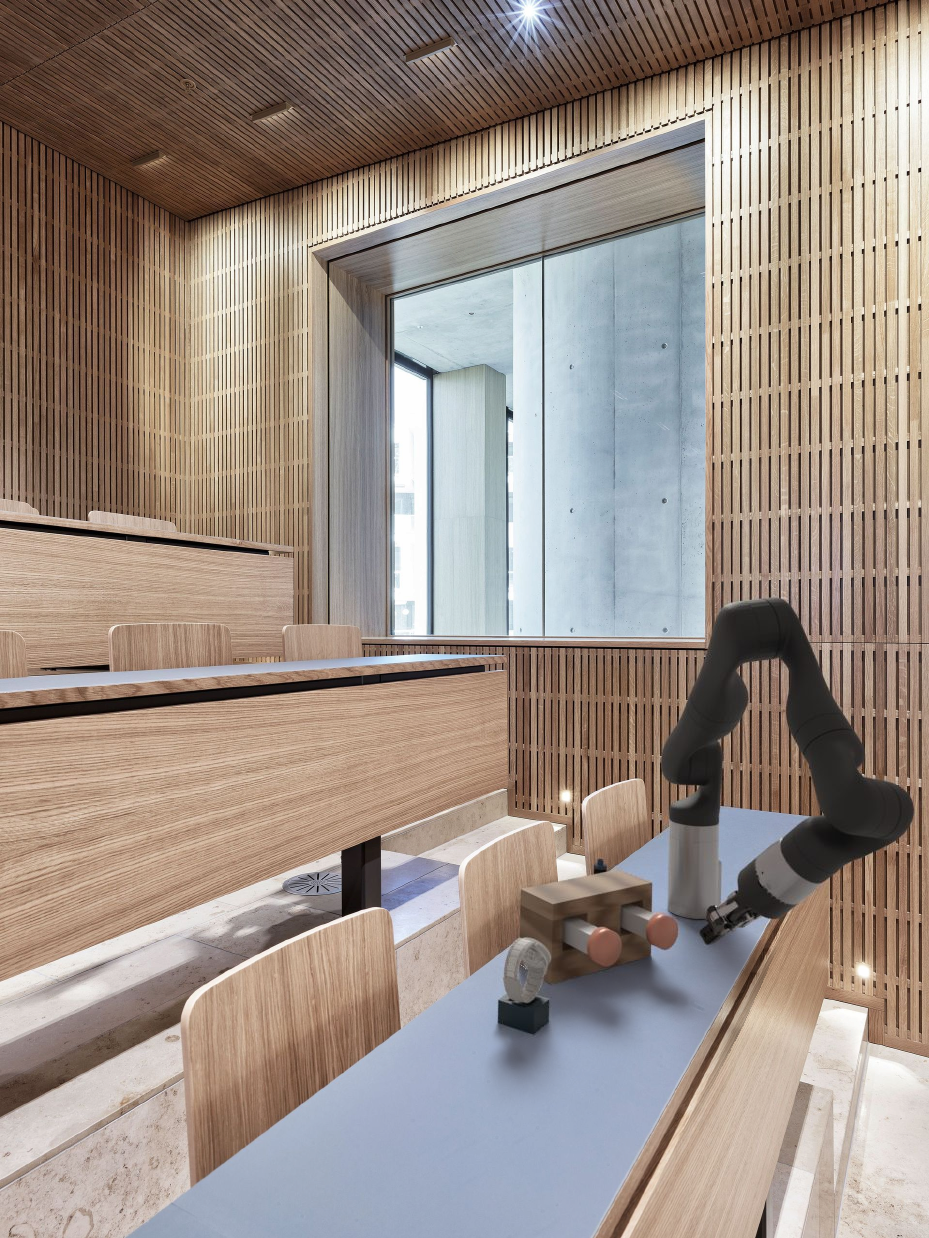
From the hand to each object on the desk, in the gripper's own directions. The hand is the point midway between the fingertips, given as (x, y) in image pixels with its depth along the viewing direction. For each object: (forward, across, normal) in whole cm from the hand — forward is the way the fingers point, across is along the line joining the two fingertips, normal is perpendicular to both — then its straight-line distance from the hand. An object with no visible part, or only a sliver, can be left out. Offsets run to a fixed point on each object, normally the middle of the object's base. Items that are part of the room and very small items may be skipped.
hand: (705, 937), depth 116 cm
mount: (+19, +6, -7) cm, 22 cm away
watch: (+12, +27, +1) cm, 30 cm away
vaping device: (+27, -5, -15) cm, 31 cm away
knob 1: (+12, +12, -6) cm, 18 cm away
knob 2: (+12, 0, -6) cm, 13 cm away
